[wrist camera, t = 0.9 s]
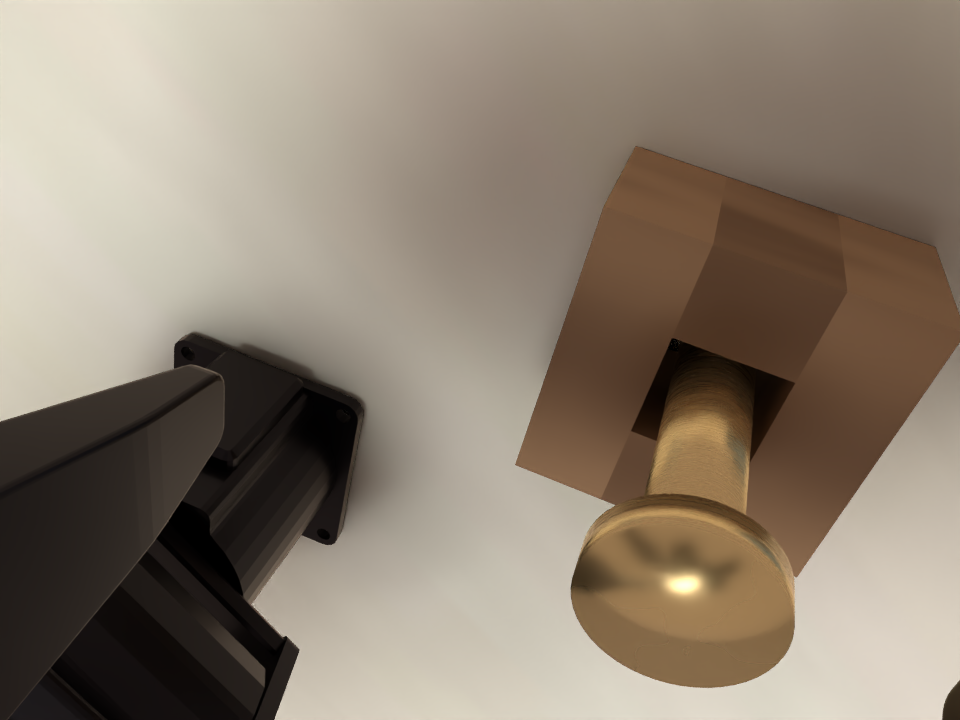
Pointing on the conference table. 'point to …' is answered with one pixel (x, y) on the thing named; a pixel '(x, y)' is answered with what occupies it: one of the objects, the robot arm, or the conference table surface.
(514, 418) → the conference table surface
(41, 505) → the robot arm
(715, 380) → the brass pin
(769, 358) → the pin block
